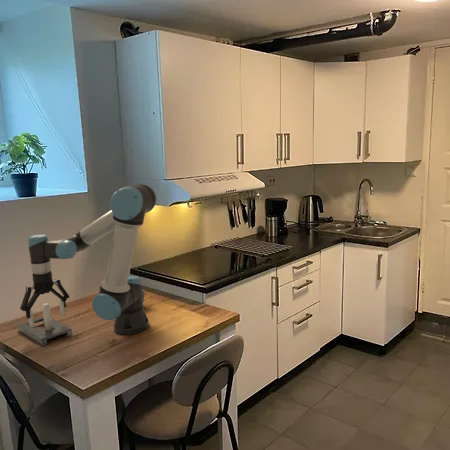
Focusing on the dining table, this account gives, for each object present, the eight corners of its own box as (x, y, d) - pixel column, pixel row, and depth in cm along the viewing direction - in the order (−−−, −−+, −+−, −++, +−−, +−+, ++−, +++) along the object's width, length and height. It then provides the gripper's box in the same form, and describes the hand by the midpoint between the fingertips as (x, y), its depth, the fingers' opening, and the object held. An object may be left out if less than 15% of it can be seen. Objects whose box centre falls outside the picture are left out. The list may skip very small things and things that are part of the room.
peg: (59, 335, 191) (55, 303, 189) (45, 339, 187) (42, 308, 185) (53, 331, 195) (49, 301, 193) (39, 336, 191) (35, 305, 189)
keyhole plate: (72, 335, 191) (71, 328, 190) (42, 345, 181) (41, 338, 181) (47, 321, 207) (46, 315, 207) (18, 330, 198) (17, 324, 198)
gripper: (65, 264, 198) (70, 309, 201) (7, 277, 180) (14, 327, 184) (74, 266, 193) (79, 313, 196) (14, 280, 175) (21, 331, 179)
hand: (47, 320), depth 190 cm, fingers open, 13 cm apart
